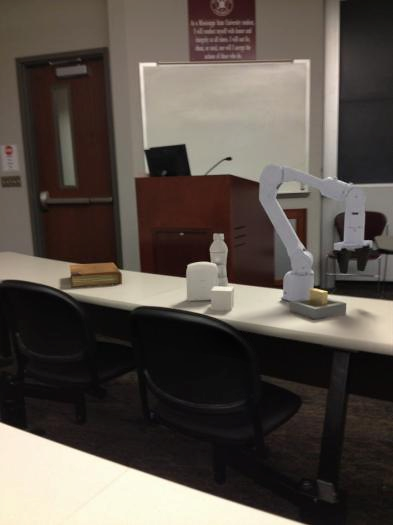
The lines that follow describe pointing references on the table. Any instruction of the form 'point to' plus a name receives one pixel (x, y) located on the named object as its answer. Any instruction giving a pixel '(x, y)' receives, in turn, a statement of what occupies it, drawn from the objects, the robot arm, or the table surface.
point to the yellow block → (318, 297)
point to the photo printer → (201, 280)
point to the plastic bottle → (219, 258)
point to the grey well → (317, 309)
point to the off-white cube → (222, 298)
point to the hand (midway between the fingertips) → (352, 272)
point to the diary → (94, 275)
